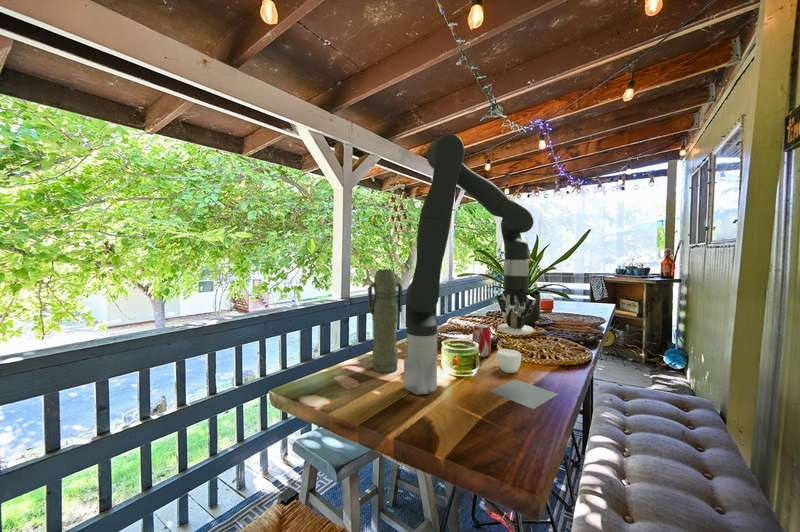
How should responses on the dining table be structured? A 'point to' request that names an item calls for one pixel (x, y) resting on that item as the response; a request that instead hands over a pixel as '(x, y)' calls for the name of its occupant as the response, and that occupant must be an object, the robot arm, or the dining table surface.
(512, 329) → the lid
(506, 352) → the cup
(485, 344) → the soda can
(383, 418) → the dining table surface
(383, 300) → the thermos
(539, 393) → the mat
